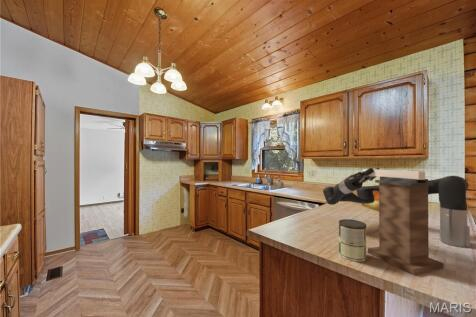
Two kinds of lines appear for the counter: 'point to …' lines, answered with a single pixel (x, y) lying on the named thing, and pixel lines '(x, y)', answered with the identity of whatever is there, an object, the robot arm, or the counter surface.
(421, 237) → the stand
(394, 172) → the slat
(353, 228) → the coffee can
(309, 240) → the counter surface
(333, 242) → the counter surface
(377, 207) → the bread
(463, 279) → the counter surface
